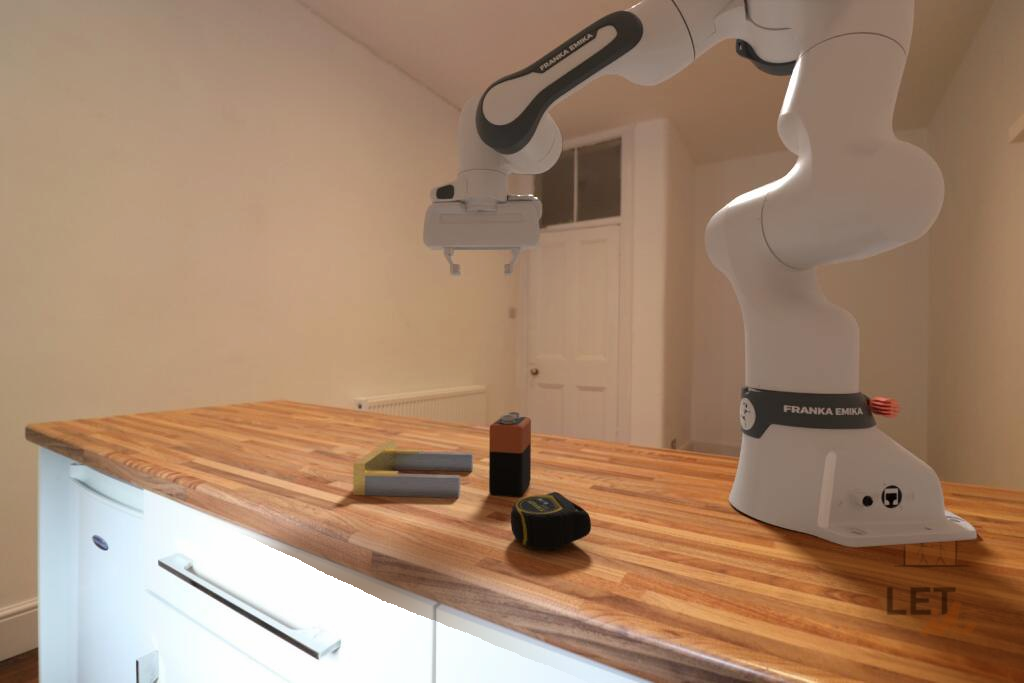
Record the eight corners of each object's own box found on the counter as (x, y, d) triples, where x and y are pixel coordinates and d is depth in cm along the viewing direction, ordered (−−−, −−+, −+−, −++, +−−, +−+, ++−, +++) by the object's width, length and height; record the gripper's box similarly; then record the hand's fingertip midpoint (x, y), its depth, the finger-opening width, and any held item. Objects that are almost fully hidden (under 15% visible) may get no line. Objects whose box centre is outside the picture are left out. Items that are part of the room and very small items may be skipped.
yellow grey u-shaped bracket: (472, 469, 68) (473, 443, 68) (458, 498, 56) (458, 466, 56) (386, 466, 69) (386, 441, 69) (353, 494, 57) (353, 463, 57)
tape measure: (596, 546, 41) (592, 505, 41) (527, 565, 39) (522, 522, 39) (565, 521, 48) (561, 486, 48) (504, 536, 46) (500, 499, 46)
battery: (488, 495, 57) (488, 417, 57) (501, 479, 64) (501, 409, 64) (521, 498, 56) (522, 419, 56) (531, 481, 63) (531, 410, 63)
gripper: (542, 200, 80) (541, 277, 80) (429, 201, 82) (429, 277, 82) (542, 188, 74) (541, 272, 74) (420, 190, 75) (420, 272, 75)
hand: (481, 275), depth 78 cm, fingers open, 8 cm apart
